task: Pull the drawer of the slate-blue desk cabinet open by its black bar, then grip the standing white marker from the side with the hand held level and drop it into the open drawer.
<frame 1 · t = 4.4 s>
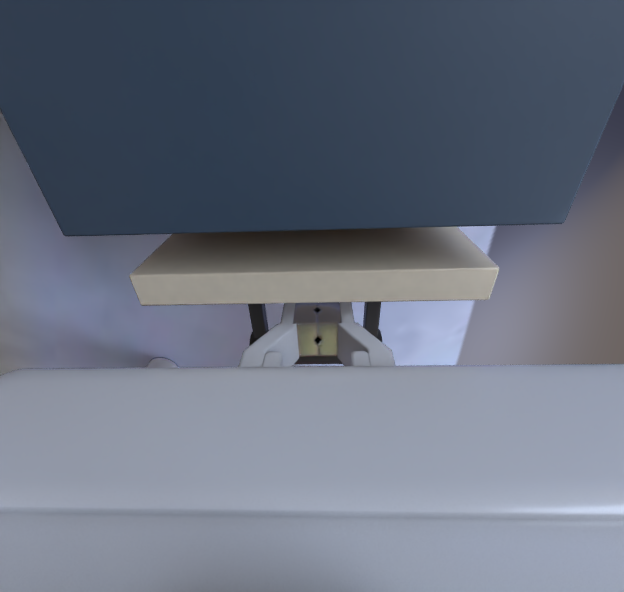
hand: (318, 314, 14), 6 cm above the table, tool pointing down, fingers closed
drawer: (309, 144, 11), point 5 cm above the table, slide at 1.7 cm
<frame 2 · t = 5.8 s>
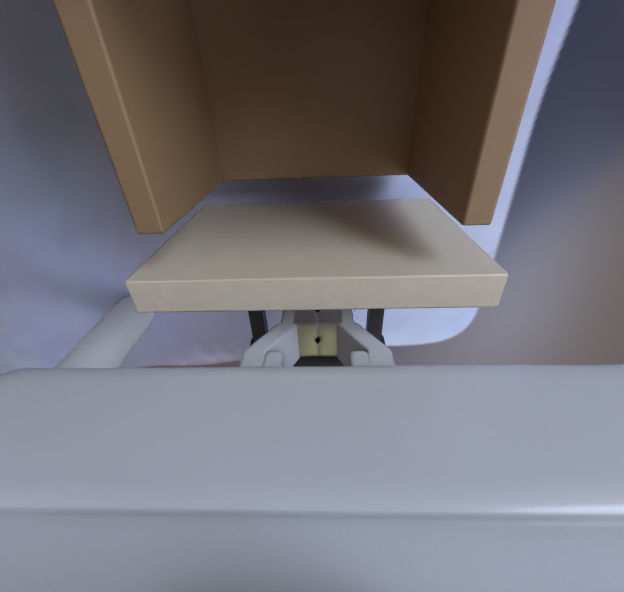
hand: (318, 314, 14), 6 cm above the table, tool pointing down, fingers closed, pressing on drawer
drawer: (311, 145, 11), point 5 cm above the table, slide at 7.7 cm, touching gripper
marker: (137, 310, 21), on the table
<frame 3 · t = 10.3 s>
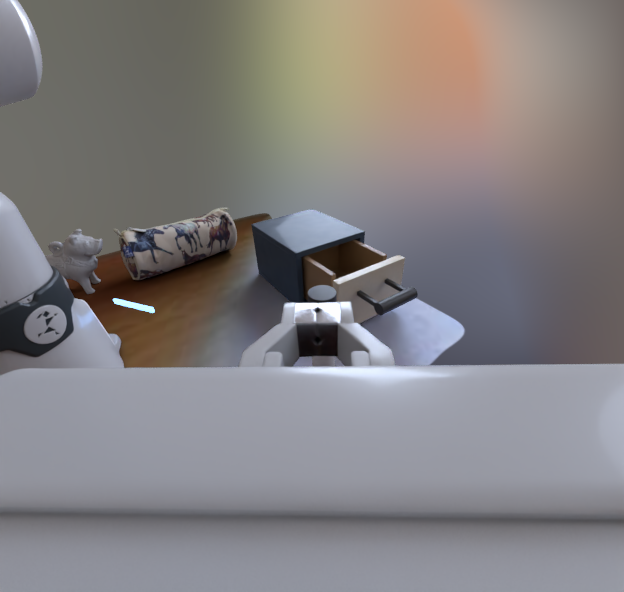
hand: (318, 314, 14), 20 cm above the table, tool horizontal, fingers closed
dog figurine: (81, 289, 57), on the table
drawer: (351, 282, 45), point 5 cm above the table, slide at 7.7 cm
pencil case: (188, 263, 64), on the table
marker: (324, 392, 35), on the table
cabinet: (308, 278, 56), on the table
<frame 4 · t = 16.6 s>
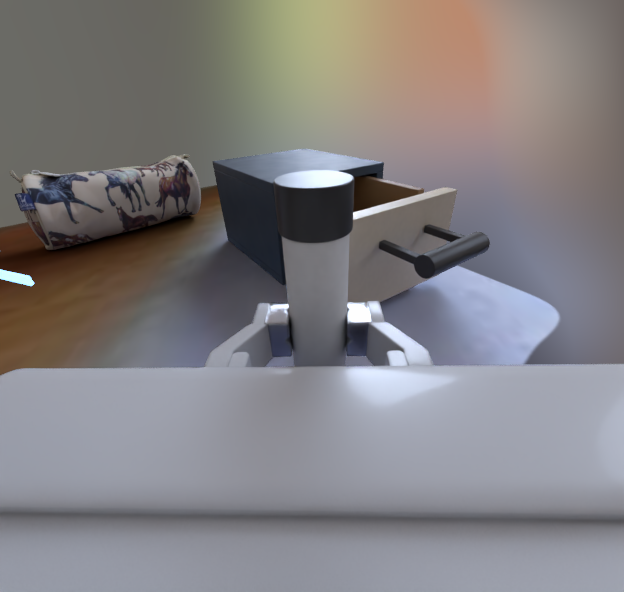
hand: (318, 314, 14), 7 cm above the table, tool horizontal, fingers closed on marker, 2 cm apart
drawer: (365, 237, 28), point 5 cm above the table, slide at 7.7 cm
pencil case: (133, 230, 46), on the table
marker: (322, 430, 17), on the table, touching gripper
cabinet: (298, 245, 39), on the table
when the fingers open (10 cm above the table, at t = 24.5 s): marker stays where it is, resting on drawer.
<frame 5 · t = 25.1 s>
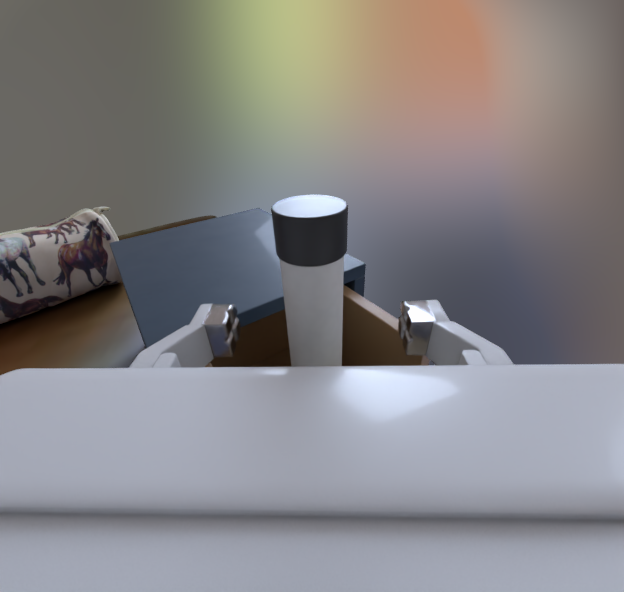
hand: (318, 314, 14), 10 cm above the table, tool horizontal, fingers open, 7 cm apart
drawer: (330, 418, 16), point 5 cm above the table, slide at 7.7 cm, touching marker
pencil case: (33, 311, 34), on the table
marker: (319, 435, 18), point 2 cm above the table, touching drawer
cabinet: (246, 354, 27), on the table
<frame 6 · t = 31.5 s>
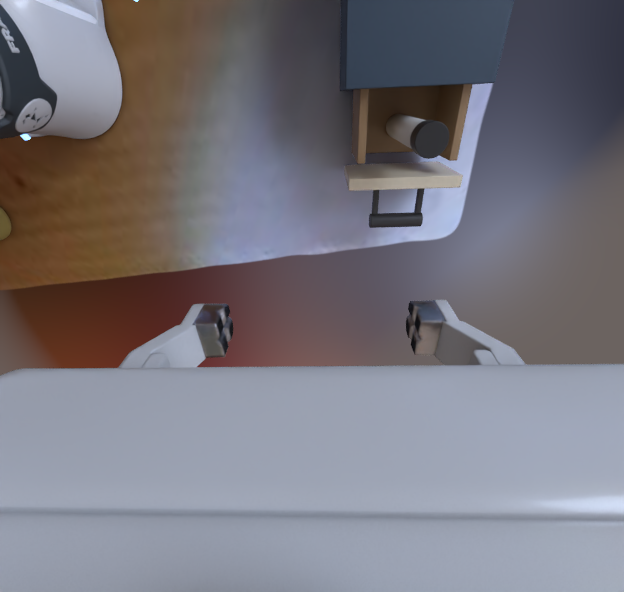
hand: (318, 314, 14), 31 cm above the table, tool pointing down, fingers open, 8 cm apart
drawer: (401, 139, 33), point 5 cm above the table, slide at 7.7 cm, touching marker
marker: (396, 125, 35), point 2 cm above the table, touching drawer
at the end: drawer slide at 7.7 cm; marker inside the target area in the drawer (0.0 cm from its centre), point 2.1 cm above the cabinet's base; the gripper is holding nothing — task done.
